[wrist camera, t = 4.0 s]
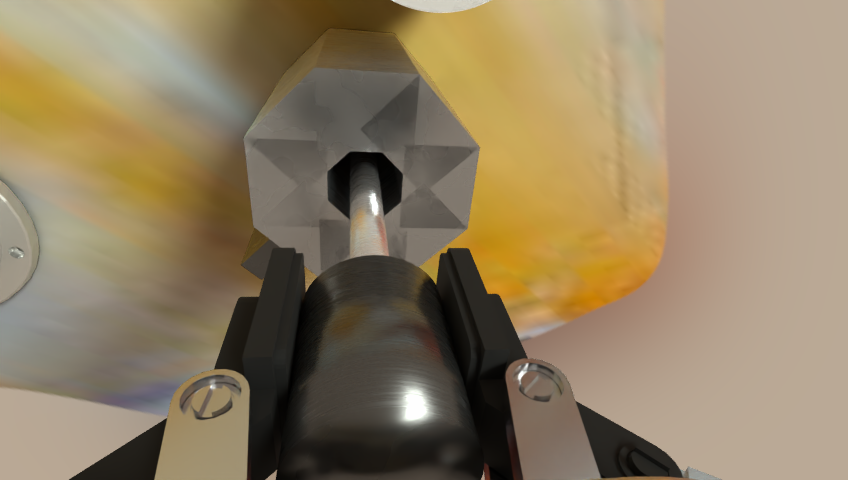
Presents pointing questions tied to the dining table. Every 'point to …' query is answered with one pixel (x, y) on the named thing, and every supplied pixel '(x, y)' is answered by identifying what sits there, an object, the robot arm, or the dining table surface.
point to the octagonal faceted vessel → (364, 132)
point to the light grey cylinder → (441, 5)
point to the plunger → (376, 366)
